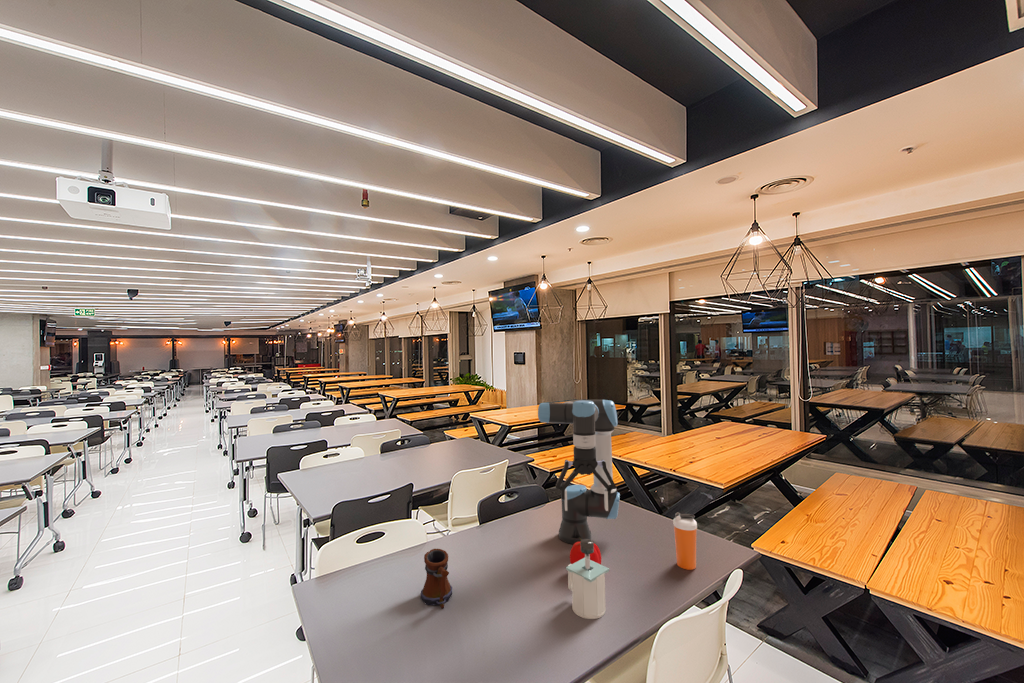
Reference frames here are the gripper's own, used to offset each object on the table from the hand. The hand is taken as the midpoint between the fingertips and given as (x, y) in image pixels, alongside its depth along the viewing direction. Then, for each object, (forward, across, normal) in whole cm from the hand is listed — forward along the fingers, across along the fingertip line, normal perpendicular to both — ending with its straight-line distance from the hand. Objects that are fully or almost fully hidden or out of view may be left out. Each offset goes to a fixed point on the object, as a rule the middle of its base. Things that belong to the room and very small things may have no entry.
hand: (586, 509), depth 137 cm
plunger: (+29, 0, 0) cm, 29 cm away
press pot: (+33, -1, 0) cm, 33 cm away
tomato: (+33, +1, +21) cm, 39 cm away
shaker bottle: (+33, +42, +29) cm, 61 cm away
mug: (+33, -52, +2) cm, 61 cm away
